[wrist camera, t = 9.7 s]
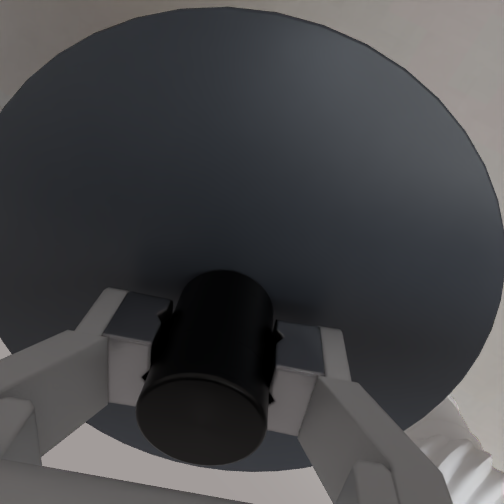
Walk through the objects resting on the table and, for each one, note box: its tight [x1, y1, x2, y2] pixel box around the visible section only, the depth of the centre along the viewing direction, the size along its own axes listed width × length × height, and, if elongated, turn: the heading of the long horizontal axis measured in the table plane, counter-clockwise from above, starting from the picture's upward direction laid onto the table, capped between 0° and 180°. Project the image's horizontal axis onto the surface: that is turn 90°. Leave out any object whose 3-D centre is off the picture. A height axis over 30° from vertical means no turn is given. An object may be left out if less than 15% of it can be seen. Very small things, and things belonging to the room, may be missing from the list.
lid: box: [0, 7, 504, 472], centre depth 9 cm, size 13×13×5 cm
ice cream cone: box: [404, 394, 504, 504], centre depth 27 cm, size 8×8×16 cm
